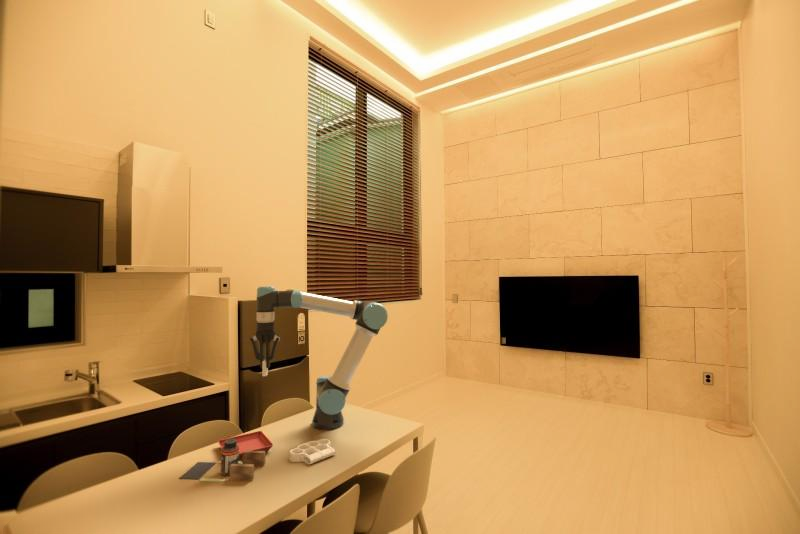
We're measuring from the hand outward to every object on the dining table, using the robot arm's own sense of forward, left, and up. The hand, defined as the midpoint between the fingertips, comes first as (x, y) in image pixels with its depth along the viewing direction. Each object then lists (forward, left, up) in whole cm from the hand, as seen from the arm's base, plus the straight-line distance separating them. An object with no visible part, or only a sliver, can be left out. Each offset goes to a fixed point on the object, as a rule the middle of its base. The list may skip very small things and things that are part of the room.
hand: (265, 375), depth 168 cm
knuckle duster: (-25, +12, -29) cm, 40 cm away
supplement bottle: (+2, +27, -29) cm, 40 cm away
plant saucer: (+4, +9, -29) cm, 31 cm away
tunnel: (-5, +27, -28) cm, 39 cm away
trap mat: (+14, +27, -28) cm, 41 cm away
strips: (+5, +27, -28) cm, 39 cm away
